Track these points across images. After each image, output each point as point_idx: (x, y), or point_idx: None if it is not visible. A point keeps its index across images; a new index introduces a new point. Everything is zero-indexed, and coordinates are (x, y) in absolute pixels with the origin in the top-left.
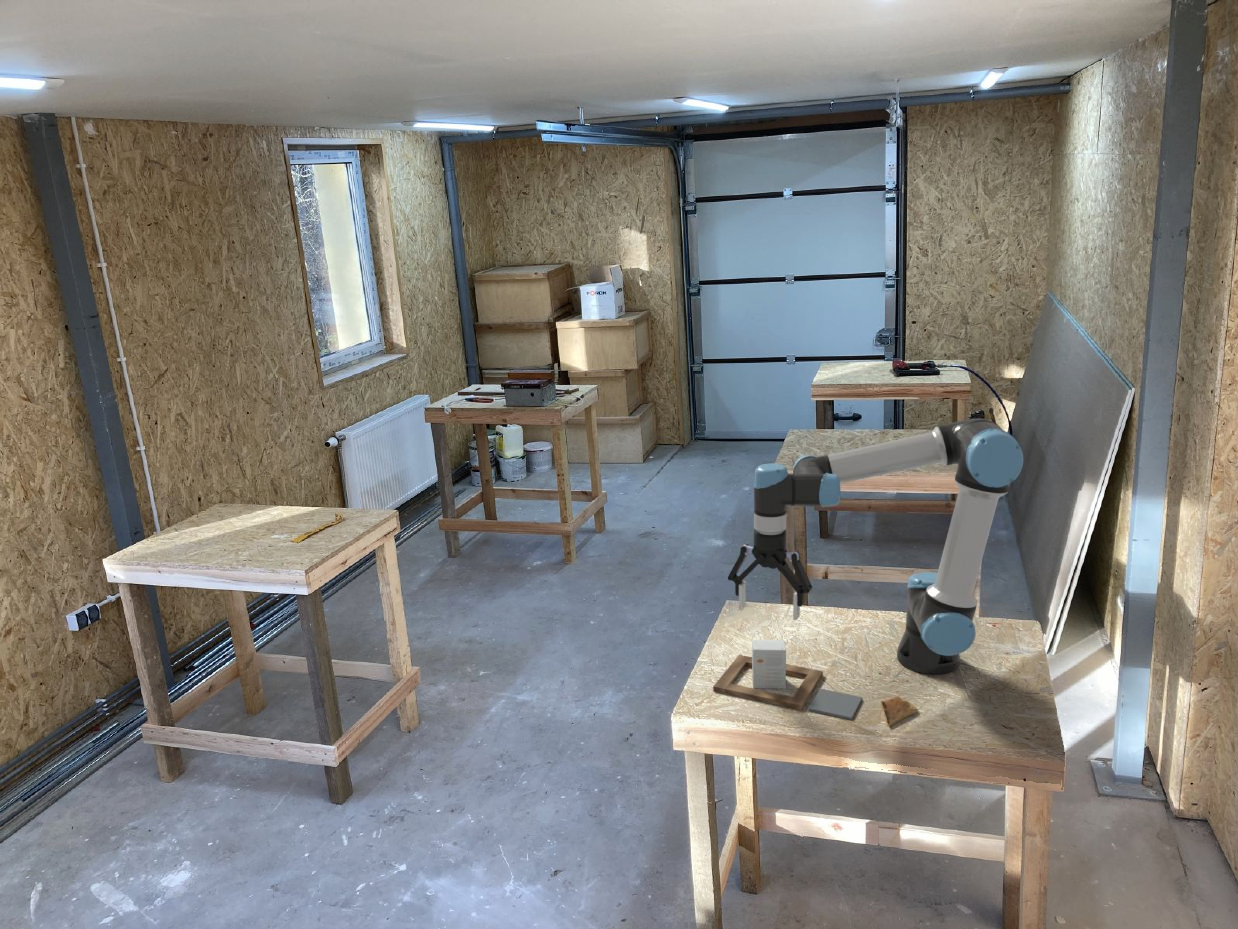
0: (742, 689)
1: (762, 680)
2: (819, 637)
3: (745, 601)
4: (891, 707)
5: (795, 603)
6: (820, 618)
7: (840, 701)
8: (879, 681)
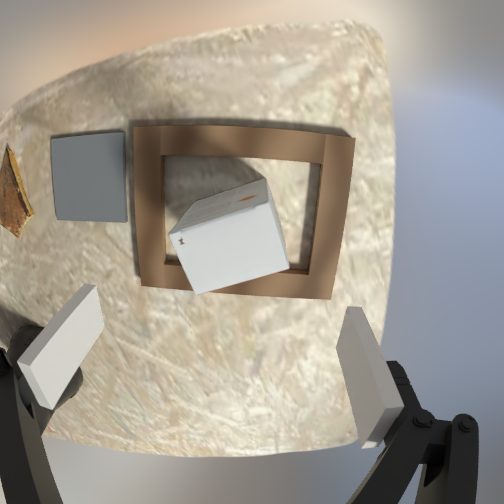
0: (283, 143)
1: (244, 188)
2: (203, 398)
3: (341, 363)
4: (13, 199)
5: (46, 330)
6: (222, 438)
7: (79, 187)
8: (62, 289)
